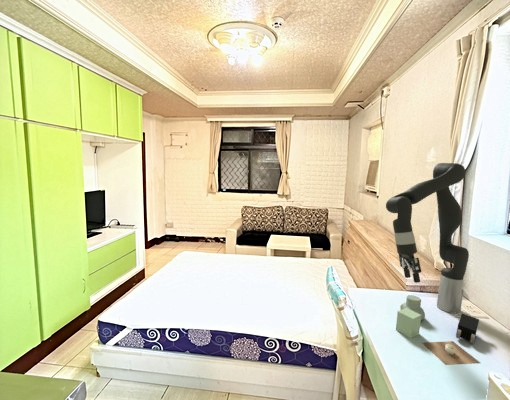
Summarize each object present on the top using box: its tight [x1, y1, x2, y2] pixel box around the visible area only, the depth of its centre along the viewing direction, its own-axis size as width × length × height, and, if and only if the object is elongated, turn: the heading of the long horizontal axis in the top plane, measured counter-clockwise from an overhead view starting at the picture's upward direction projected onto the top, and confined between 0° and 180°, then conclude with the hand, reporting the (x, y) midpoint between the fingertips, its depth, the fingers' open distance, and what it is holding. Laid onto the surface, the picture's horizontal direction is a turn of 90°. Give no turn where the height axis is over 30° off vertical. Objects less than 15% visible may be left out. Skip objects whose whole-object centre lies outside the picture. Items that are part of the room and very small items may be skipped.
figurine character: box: [455, 313, 480, 345], centre depth 112 cm, size 7×8×15 cm
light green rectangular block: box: [395, 308, 422, 339], centre depth 113 cm, size 6×6×9 cm
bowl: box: [445, 344, 455, 355], centre depth 101 cm, size 3×3×2 cm
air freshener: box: [399, 294, 426, 321], centre depth 126 cm, size 11×8×10 cm
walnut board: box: [421, 340, 481, 366], centre depth 102 cm, size 14×12×1 cm
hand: (412, 279), depth 114 cm, fingers open, 8 cm apart
